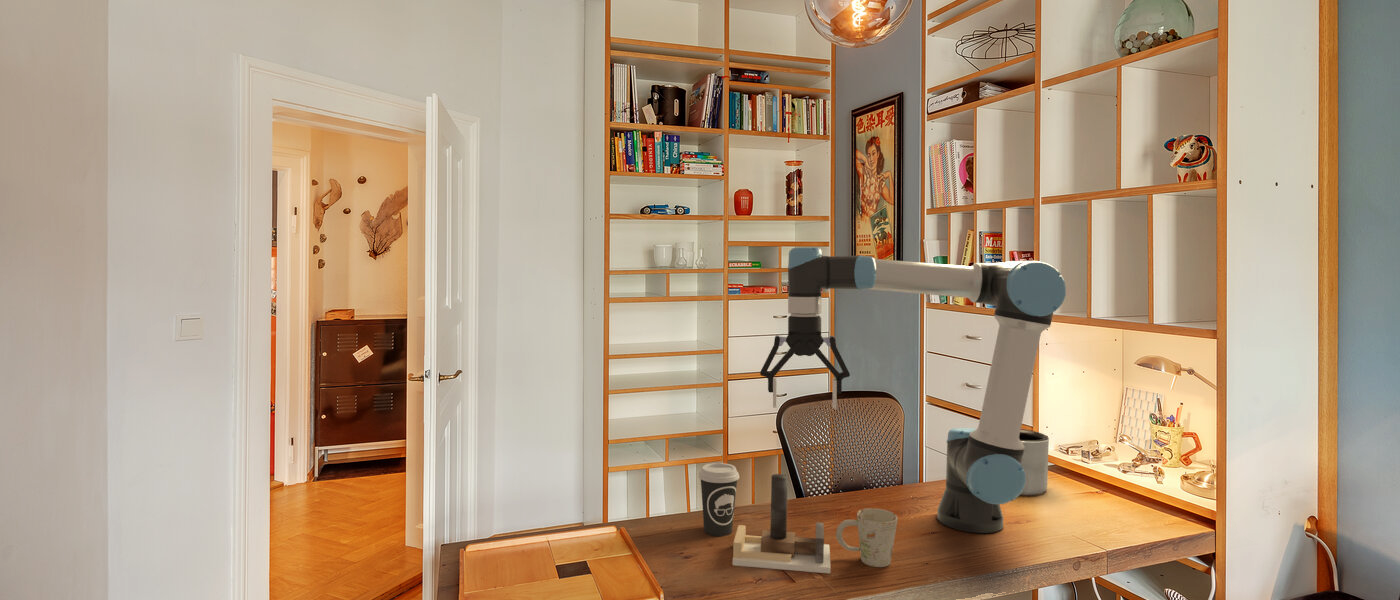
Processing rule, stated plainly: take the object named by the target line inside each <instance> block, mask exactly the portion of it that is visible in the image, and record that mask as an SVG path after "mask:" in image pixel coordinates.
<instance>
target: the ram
mask: <svg viewBox="0 0 1400 600" xmlns="http://www.w3.org/2000/svg"><path fill="white" fill-rule="evenodd" d="M788 478H789V477H788V475H786V474H782V473H775V474H772V475H771V483H770V484H771V485H770V488H771V489H770V495H771V496H770V530H768V529H762V534H761V536H762V537H761V552H768V553H781V554H791V557H794V552H796V553H808V554H815V562H821V563H823V556H824V544H825V533H824V530H825V529H824V522H815V538H813V537H799V536H796V532H795V531H787V523H788V522H787V519H788V517H787V516H788V484H789V483H788Z"/></svg>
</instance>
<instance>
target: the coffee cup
mask: <svg viewBox="0 0 1400 600" xmlns="http://www.w3.org/2000/svg"><path fill="white" fill-rule="evenodd" d="M698 479H699V480H700V489H701V502H702V517H703V520H702V521H703V530H704V533H705V534H707V535H709V536H713V537H724V536H729V535H730V534H731V533H732V531H733V524H734V515H735V514H734V512H735V505H736V504H735V503H736V493H737V487H738V486H737V485H738V480H740V474H739V471H737V468H736V466H735V465H733V464H729V463H723V462H713V463H706V464H704V465H703V466H702V467H701V470H700V471H699V473H698Z"/></svg>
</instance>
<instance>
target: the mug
mask: <svg viewBox="0 0 1400 600" xmlns="http://www.w3.org/2000/svg"><path fill="white" fill-rule="evenodd" d="M897 524H898V516H897V514H896V513H894V512H893V511H890V510H887V509H886V510H885V509H882V508H874V507H873V508H870V507H869V508H862V509H859V510H858V511H857V512H856V519H845V520H842V522H840V523H839V524H838V526H837V527H836V531H835V537H836V540H837V543H838V544H839V545H840V546H842V547H843V548H844V549H845V550H847V551H850V552H860V559H861V562H862V563H864V564H865V565H866V566H869V567H875V568H885V567H887V566H888V567H889V566H890V565H891V562H892V556H893V555H892V554H893V549H894V543H895V537H896V531H897ZM849 526H852V527H857V531H858V541H859V543H858V545H859V547H858V546H850V545H848V544H847V543H846V542H845V540H844V539H843V532H844V530H845V529H846V528H847V527H849Z"/></svg>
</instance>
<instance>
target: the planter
mask: <svg viewBox="0 0 1400 600" xmlns="http://www.w3.org/2000/svg"><path fill="white" fill-rule="evenodd" d="M1019 439H1020V441H1021V442H1022V444H1023V445H1024V453H1023V458H1022V462H1021V465H1022V467H1023V469H1024V472H1025V476H1026V482H1025V486H1024V489H1023V491H1022V492H1021V494H1020V495H1019V496H1037V495H1041V494H1043V493H1045V492H1046V491H1047V490H1048V475H1049V473H1048V472H1049V471H1048V470H1049V444H1050V443H1049V440H1050V438H1049V436H1047V435H1046V434H1045V433H1042V432H1039V431H1035V430H1029V429H1025V428H1021V430H1020V435H1019Z"/></svg>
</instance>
